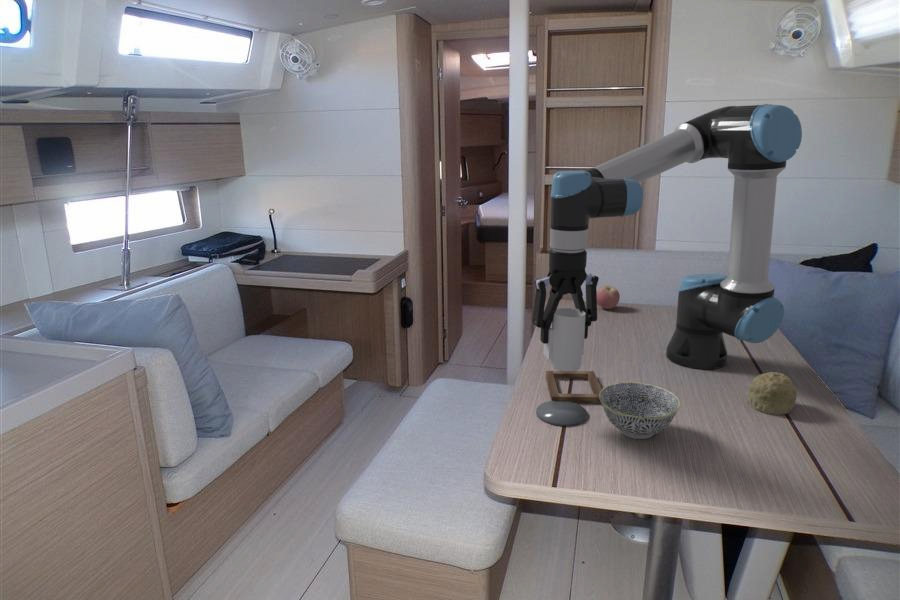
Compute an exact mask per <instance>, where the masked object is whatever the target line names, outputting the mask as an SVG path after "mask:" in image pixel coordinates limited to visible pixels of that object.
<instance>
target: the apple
mask: <svg viewBox="0 0 900 600" xmlns="http://www.w3.org/2000/svg"><path fill="white" fill-rule="evenodd" d="M596 291H597V306H599V307H600V308H602V309H605V310H611V309H614V308H615V307H617V305H618V304H619V302H620V293H619V291H618V289H617V288H616V287H615V286H612V285H604V286H601V287H599V288H598V289H597V290H596Z"/></svg>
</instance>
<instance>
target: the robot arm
mask: <svg viewBox="0 0 900 600" xmlns="http://www.w3.org/2000/svg"><path fill="white" fill-rule="evenodd" d="M802 130H803V129H802V123H801V121H800V119H799V116H798V115H797V114H796V113H795V112H794V110H793V109H792V108H790V107H788V106H786V105H781V104H771V103H770V104H768V103H765V104H753V105H729V106H723V107H720V108H717V109H713V110H710V111H708V112H706V113H704V114H700V115H699V116H696V117H694V118H692V119H690V120H688V121H685V122H683V123H681V124H679V125H677V126H676V127H675V129H674V131H673V132H671V133H668V134H667V135H666V134H665V135H664V136H662V137H660V138H657V139H655V140H653V141H651V142H648V143H646V144H644V145H641V146H639V147H637V148H634V149H632V150H629V151H628V152H625V153H622V154H621V155H618V156H617V157H614V158H611V159H609V160H607V161H605V162H603V163H601V164H598V165H596V166H594V167H591V168H589V169H585V170H562V171H557V172H556V173H554V174H553V177H552V182H551V189H550V190H551V192H550V229H549V247H550V248H551V249H550V250H549V252H548V255H549V256H548V273H547V275H546V277H544V278H535V279H534V281H533V282H534V287H535V296H534V304H533V309H532V310H533V311H532V320H531V323H532V324H533V325H534V326H536V327H537V328H539V329H540V335H539V336H540V342H541V343H542V344H543V354H542V355H543V356H544V357H545V358H547V359H548V360H551V359H552V351H553V329H552V321H553V318H554V313H555V312H556V310H557V309H558V306H559V304H560V301H561V300H562V299H563V298H564V297H563V296H565V295H568V294H570V295H571V296H572V300H573V303H574V308H575V309H578V310H579V311H580V312H581V313H582V311H584V312H585V313H586V315H585V328H584V338H583V348H582V356H583V355H584V351H585V347H584V346H585V340H586V339H588V337H589V335H588V334H589V327H590V326H591V325H592V322H596V321H598V304H597V291H598V290H597V287H598V286H597V285H598V283H599V281H600V280H599V279H600V278H599V277H598V276H597V275H595V274H592V273H589V274H587V271H586V267H587V258H588V257H587V255H588V252H587V250H586V249H587V248H588V239H589V223H590V219H596V218H597V219H599V218H615V217H620V218H623V217H626V216H633V215H635V214H637V213H638V212H639V211H640V209H641V208H642V206H643V202H644V201H643V199H644V189H643V188H642V185H641V184H640V183H642V182H644V181H647V180H649V179H651V178H653V177H657V176H658V175H660V174H662V173H664V172H667V171H669V170H671V169H674V168H675V167H678V166H680V165H682V164H684V163H688V164H694V163H697V162H699V161H701V160H706V159H714V158H715V159H719V158H720V159H727V161H728V162H727V170H728V171H729V173H731V174H732V175H733V177H734V179H733V192H732V194H733V195H732V206H731V207H732V209H731V220H730V221H731V222H730V223H731V225H730V236H729V237H730V239H729V254H728V268H727V274H726V275H725V274H719V273H717V274H716V273H695V274H689V275H686V276H683V277H682V279H681V281H680V284H679V289H678V296H677V297H678V298H677V311H676V323H675V329H674V332H673V334H672V336H671V338H670V340H669V342H668V344H667V347H666V353H665V355H666V358H667V359H668V360H669V361H671V362H672V363H675V364H676V365H679V366H683V367H687V368H692V369H700V370H701V369H702V370H713V369H719V368H722V367H724V366H726V365H727V362H728V350H727V346H726V343H725V342H726V341H725V339H724V334H726V335H728V336H731V337H733V338H735V339H737V340H739V341H742V342H743V341H744V342H747V343H750V344H760V343H763V342H765V341H767V340H769V339H770V338H771V337H773V336H774V334H775V333H777V331H778V329H779V328H780V327H781V325H782V323H783V321H784V317H785V307H784V304H783V303H782V301H780V300H779V299H778V298H776V297H775V284H774V283H773V282H772V281H771V280H770V279H769V271H770V262H771V260H770V259H771V251H772V250H771V249H772V240H773V239H772V238H773V228H774V227H773V226H774V215H775V204H776V196H777V195H776V194H777V193H776V192H777V183H778V176H779V174H781V173H782V172H783V171H784V170H785V169H786V168H787V161H789V160H790V159H792V158H793V157H794V156H795V155H796V153H797V150H798V149H799V147H800V146H801V143H802V139H803V138H802V137H803V132H802ZM584 283H585V300H584V297H583V296H584V294H583V290H582V285H583V284H584ZM549 285H550V286H551V287H550V291H549V295H548V300H547V301H546V299H547V289H548V288H549V287H548V286H549Z"/></svg>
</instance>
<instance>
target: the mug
mask: <svg viewBox="0 0 900 600" xmlns="http://www.w3.org/2000/svg"><path fill="white" fill-rule="evenodd" d="M585 315H586V313H585V312H584V311H582V313H581V312H580V311H579V310H578V309H576V308H575V307H574V308H573V307H559V308H558V307H557V310H556V312H555V313H554V318H553V321H552V323H551V328H552V329H553V351H552V359H550V366H551V368H552V369H553V370H555V371H565V372H572V371H580V369H581V366H582V357H583V355H582V348H583V338H584V328H585Z"/></svg>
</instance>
